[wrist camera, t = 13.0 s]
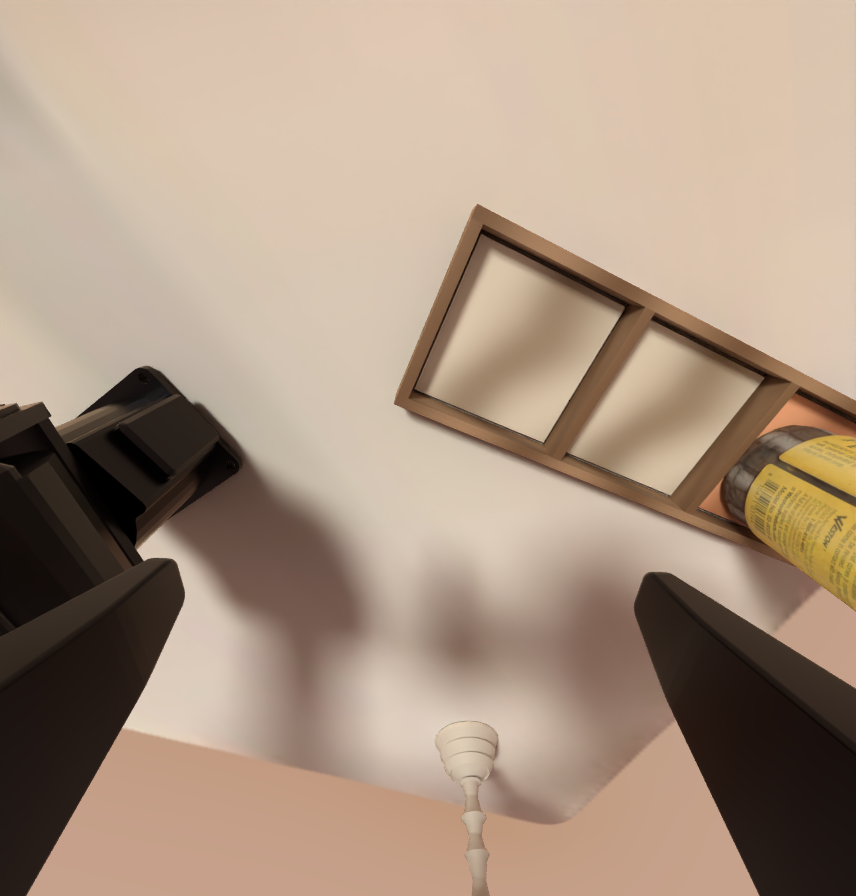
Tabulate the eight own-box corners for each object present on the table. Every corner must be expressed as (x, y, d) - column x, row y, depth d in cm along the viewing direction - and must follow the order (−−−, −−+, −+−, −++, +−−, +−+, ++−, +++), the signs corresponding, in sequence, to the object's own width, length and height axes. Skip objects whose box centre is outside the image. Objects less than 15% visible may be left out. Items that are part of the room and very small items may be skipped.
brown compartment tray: (395, 394, 20) (394, 404, 18) (472, 209, 16) (477, 203, 15) (778, 551, 24) (800, 568, 23) (899, 429, 21) (933, 441, 19)
